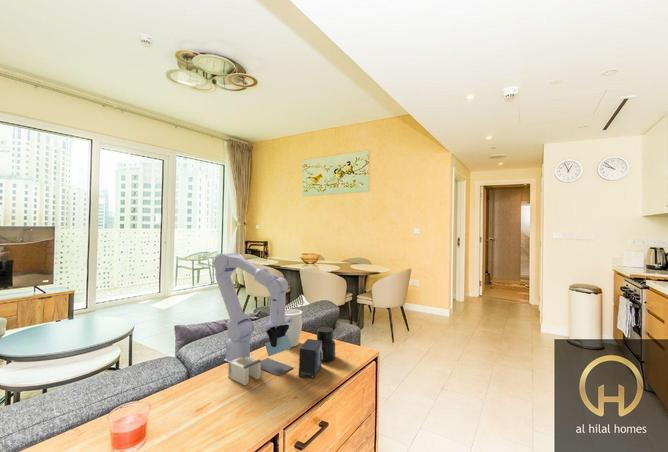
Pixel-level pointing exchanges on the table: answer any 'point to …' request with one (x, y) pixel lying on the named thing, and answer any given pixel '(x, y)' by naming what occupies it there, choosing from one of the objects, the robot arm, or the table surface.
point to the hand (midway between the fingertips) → (276, 345)
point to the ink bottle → (326, 343)
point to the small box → (310, 358)
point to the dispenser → (244, 369)
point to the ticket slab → (278, 346)
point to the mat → (274, 367)
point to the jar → (294, 326)
